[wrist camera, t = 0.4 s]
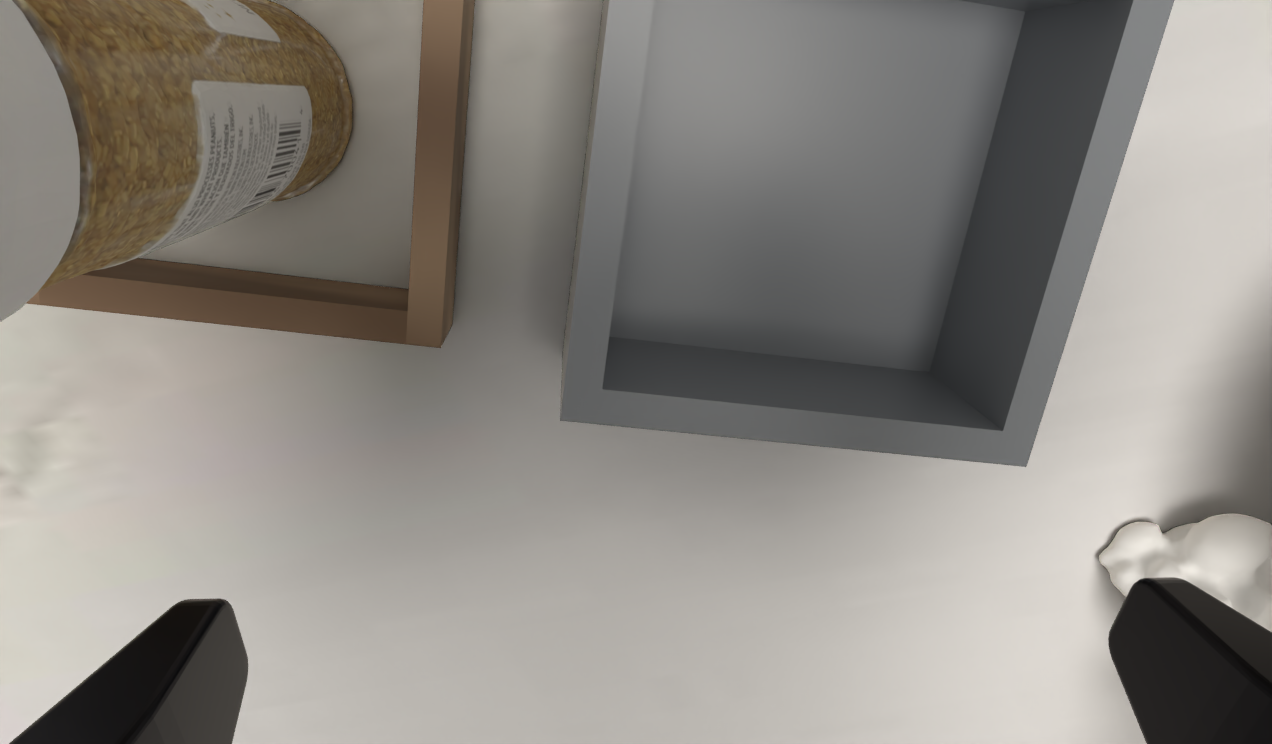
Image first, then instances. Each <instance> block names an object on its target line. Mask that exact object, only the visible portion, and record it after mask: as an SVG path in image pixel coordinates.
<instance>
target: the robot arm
mask: <svg viewBox="0 0 1272 744" xmlns="http://www.w3.org/2000/svg"><path fill="white" fill-rule="evenodd" d="M1108 639H1109V649H1110V654H1111V657H1112V660H1113V662H1114V665H1115V667H1116V670H1117V672H1118V674H1119V677H1120V679H1121V682H1122V684H1123V687H1124V689H1125V692H1126V694H1127V696H1128V699H1129V701H1130V704H1131V706H1132V709H1133V711H1134V714H1135V716H1136V718H1137V721H1138V723H1139V726H1140V728H1141V731H1142V733H1143V736H1144V738H1145V741H1146V743H1147V744H1272V632H1270V631H1269V630H1267V629H1266V628H1264V627H1262V626H1261V625H1259V624H1257V623H1256V622H1254V621H1252V620H1251V619H1249V618H1247V617H1246V616H1244V615H1243V614H1241V613H1239V612H1238V611H1236V610H1234V609H1233V608H1231V607H1229V606H1228V605H1226V604H1224V603H1223V602H1221V601H1219V600H1218V599H1216V598H1215V597H1213V596H1211V595H1210V594H1208V593H1206V592H1205V591H1203V590H1201V589H1200V588H1198V587H1196V586H1195V585H1193V584H1191V583H1190V582H1188V581H1186V580H1183V579H1181V578H1175V577H1162V578H1143V579H1140V580H1138V581H1137V582H1135V583H1134V584H1133V586H1132V587H1131V589H1130V591H1129V593H1128V595H1127V597H1126V599H1125V601H1124V603H1123V605H1122V607H1121V609H1120V611H1119V613H1118V615H1117V617H1116V619H1115V621H1114V623H1113V625H1112V627H1111V629H1110V632H1109V638H1108ZM247 676H248V657H247V653H246V650H245V646H244V643H243V640H242V637H241V633H240V630H239V627H238V624H237V620H236V617H235V614H234V611H233V608H232V606H231V605H230V603H229V602H228V601H226V600H223V599H188V600H183V601H181V602H179V603H177V604H175V605H174V606H172V607H171V608H170V609H169V610H167V611H166V612H165V613H164V614H163V615H161V616H160V617H159V618H158V619H157V620H156V621H154V622H153V623H152V624H151V625H150V626H148V627H147V628H146V629H145V630H144V631H142V632H141V633H140V634H139V635H138V636H136V637H135V638H134V639H133V640H132V641H131V642H129V643H128V644H127V645H126V646H125V647H123V648H122V649H121V650H120V651H119V652H117V653H116V654H115V655H114V656H113V657H112V658H110V659H109V660H108V661H107V662H106V663H104V664H103V665H102V666H101V667H100V668H98V669H97V670H96V671H95V672H94V673H92V674H91V675H90V676H89V677H88V678H87V679H85V680H84V681H83V682H82V683H81V684H79V685H78V686H77V687H76V688H75V689H73V690H72V691H71V692H70V693H69V694H68V695H66V696H65V697H64V698H63V699H62V700H60V701H59V702H58V703H57V704H56V705H54V706H53V707H52V708H51V709H50V710H48V711H47V712H46V713H45V714H44V715H43V716H41V717H40V718H39V719H38V720H37V721H35V722H34V723H33V724H32V725H31V726H29V727H28V728H27V729H26V730H25V731H23V732H22V733H21V734H20V735H19V736H18V737H16V738H15V739H14V740H13V741H12V742H10V743H9V744H232V741H233V737H234V732H235V728H236V724H237V720H238V716H239V712H240V707H241V703H242V699H243V695H244V691H245V686H246V682H247Z"/></svg>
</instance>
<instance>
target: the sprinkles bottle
mask: <svg viewBox="0 0 1272 744" xmlns="http://www.w3.org/2000/svg"><path fill="white" fill-rule="evenodd" d="M351 130H352V96H351V94H350V91H349V87H348V81H347V79H346V76H345V71H344V68H343V66H342V63H341V61H340V59H339V58H338V56H337V55H336V53H335V52H334V50H333V49H332V48H331V46H330V45H329V44H328V43H327V41H326V40H325V39H324V38H323V37H322V36H321V35H320V33H319V32H318V31H317V30H315V29H314V28H313V27H312V26H310V25H309V24H307V23H306V22H305V21H304V20H303V19H302V18H301V17H299V16H297V15H296V14H295V13H293V12H292V11H290V10H289V9H287V8H285V7H283V6H282V5H279V4H277V3H274V2H271V1H268V0H0V322H1V321H2V320H4V319H5V318H7V317H9V316H10V315H12V314H13V313H15V312H16V311H18V310H19V309H20V308H21V307H22V306H24V305H25V304H26V303H27V302H28V301H29V300H30V299H31V298H32V297H33V296H34V295H35V294H36V293H37V292H38V291H41V290H43V289H45V288H47V287H49V286H51V285H54V284H57V283H59V282H61V281H64V280H66V279H70V278H73V277H76V276H79V275H82V274H84V273H87V272H90V271H93V270H100V269H105V268H108V267H112V266H116V265H119V264H122V263H125V262H127V261H130V260H133V259H136V258H138V257H141V256H143V255H146V254H148V253H151V252H153V251H155V250H158V249H160V248H163V247H165V246H168V245H170V244H173V243H176V242H178V241H180V240H183V239H185V238H188V237H190V236H193V235H195V234H198V233H200V232H202V231H205V230H207V229H210V228H212V227H214V226H217V225H219V224H221V223H224V222H226V221H229V220H231V219H233V218H236V217H238V216H241V215H243V214H245V213H248V212H250V211H253V210H255V209H257V208H259V207H261V206H263V205H265V204H266V203H268V202H270V201H281V200H285V199H289V198H292V197H295V196H298V195H301V194H303V193H305V192H307V191H309V190H310V189H311V188H312V187H314V186H315V185H317V184H318V183H320V182H321V181H323V180H324V179H325V178H326V176H327V175H328V174H329V173H330V172H331V171H332V170H333V169H334V168H335V167H336V166H337V165H338V163H339V161H340V160H341V158H342V156H343V153H344V150H345V148H346V146H347V144H348V141H349V137H350V133H351Z"/></svg>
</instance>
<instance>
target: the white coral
mask: <svg viewBox="0 0 1272 744" xmlns="http://www.w3.org/2000/svg"><path fill="white" fill-rule="evenodd" d="M1099 561H1100V563H1101V564H1102V565H1103V566H1105V567H1106V568H1107V570H1108V572H1109V573H1110V579H1111V581H1112V583H1113V585H1114V586H1115V587H1116V588H1118V589H1119V590H1120V591H1121V593H1122V594H1123V595H1124V596H1125V597H1127V595H1128V593H1129V591H1130V589H1131V587H1132V586H1133V584H1134V583H1135V582H1137V581H1138V580H1140V579H1143V578H1162V577H1175V578H1181V579H1183V580H1186V581H1188V582H1190V583H1191V584H1193V585H1195V586H1196V587H1198V588H1200V589H1201V590H1203V591H1205V592H1206V593H1208V594H1210V595H1211V596H1213V597H1215V598H1216V599H1218V600H1219V601H1221V602H1223V603H1224V604H1226V605H1228V606H1229V607H1231V608H1233V609H1234V610H1236V611H1238V612H1239V613H1241V614H1243V615H1244V616H1246V617H1247V618H1249V619H1251V620H1252V621H1254V622H1256V623H1257V624H1259V625H1261V626H1262V627H1264V628H1266V629H1267V630H1269V631H1270V632H1272V525H1271V524H1270V523H1268V522H1265V521H1262V520H1260V519H1258V518H1255V517H1251V516H1248V515H1242V514H1220V515H1215V516H1210V517H1208V518H1206V519H1204V520H1202V521H1201V522H1199V523H1190V524H1186V525H1182V526H1178V527H1174V528H1173V529H1171V530H1169V531H1168V532H1166V533H1164V534H1162V532H1161V530H1160V527H1159V526H1158V525H1157V524H1154V523H1151V522H1134V523H1131V524H1128V525H1126V526H1124V527H1123V528H1121V529H1120V530H1119V531H1118V532H1117V534H1116V536H1115V537H1114V539H1113V541H1112V542H1111V543H1110V545H1109V546H1108V547H1107V548H1106V549H1105V550H1104V551H1103V552H1102V553H1101V554H1100V556H1099Z"/></svg>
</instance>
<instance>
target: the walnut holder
mask: <svg viewBox="0 0 1272 744" xmlns="http://www.w3.org/2000/svg"><path fill="white" fill-rule="evenodd" d="M474 6H475V0H424V3H423V22H422V42H421V61H420V81H419V100H418V120H417V139H416V158H415V178H414V197H413V217H412V236H411V256H410V275H409V289H401V288H392V287H383V286H375V285H366V284H357V283H348V282H340V281H331V280H322V279H314V278H305V277H296V276H288V275H279V274H270V273H262V272H253V271H244V270H236V269H227V268H218V267H210V266H201V265H192V264H183V263H175V262H166V261H157V260H149V259H140V258H136V259H133V260H130V261H127V262H125V263H122V264H119V265H116V266H112V267H108V268H105V269H100V270H93V271H90V272H87V273H84V274H82V275H79V276H76V277H73V278H70V279H66V280H64V281H61V282H59V283H57V284H54V285H51V286H49V287H47V288H45V289H43V290H41V291H38V292H37V293H36V294H35V295H34V296H33V297H32V298H31V299H30V300H29V301H28V302H27V303H28V304H37V305H46V306H55V307H65V308H74V309H83V310H93V311H102V312H111V313H120V314H130V315H139V316H148V317H158V318H167V319H176V320H185V321H195V322H204V323H213V324H223V325H232V326H241V327H251V328H260V329H269V330H278V331H288V332H297V333H306V334H316V335H325V336H334V337H343V338H353V339H362V340H371V341H381V342H390V343H399V344H408V345H418V346H427V347H436V348H441V346H442V344H443V342H444V340H445V338H446V336H447V334H448V332H449V330H450V328H451V326H452V321H453V307H454V293H455V278H456V264H457V250H458V235H459V221H460V207H461V192H462V178H463V164H464V149H465V135H466V120H467V106H468V92H469V77H470V63H471V49H472V34H473V20H474Z"/></svg>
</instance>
